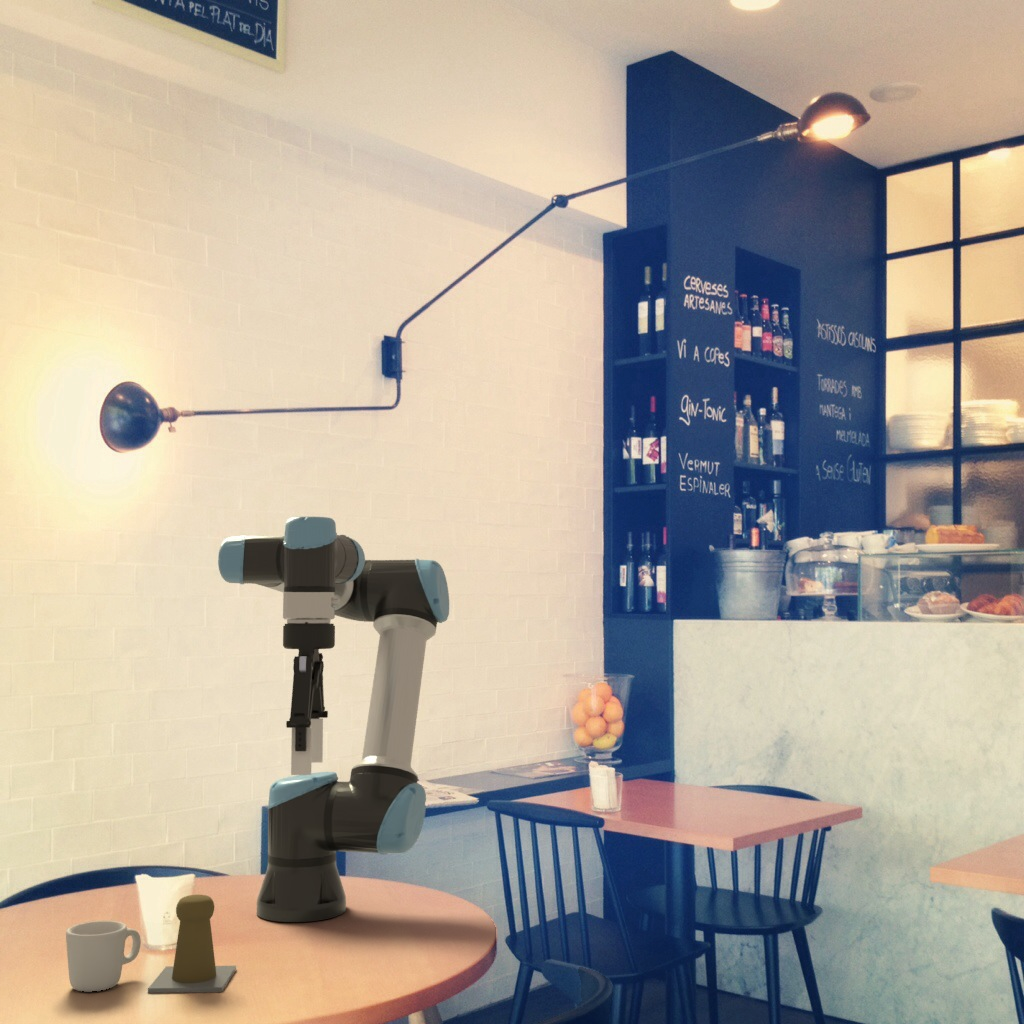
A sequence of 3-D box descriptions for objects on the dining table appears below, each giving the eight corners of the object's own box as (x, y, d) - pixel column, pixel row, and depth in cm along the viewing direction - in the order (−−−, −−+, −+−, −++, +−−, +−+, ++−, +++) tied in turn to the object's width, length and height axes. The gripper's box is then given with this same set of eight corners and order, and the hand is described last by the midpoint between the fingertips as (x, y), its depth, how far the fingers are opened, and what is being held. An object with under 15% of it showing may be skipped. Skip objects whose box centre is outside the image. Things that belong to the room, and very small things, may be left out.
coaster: (165, 970, 173) (166, 966, 173) (236, 969, 173) (236, 965, 173) (147, 992, 163) (147, 988, 163) (222, 991, 163) (222, 987, 163)
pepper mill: (171, 984, 164) (173, 902, 165) (171, 971, 170) (173, 892, 171) (217, 980, 166) (218, 899, 167) (215, 968, 172) (216, 889, 173)
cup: (122, 970, 173) (123, 913, 174) (154, 981, 168) (156, 922, 169) (52, 988, 165) (54, 928, 165) (84, 1000, 160) (86, 938, 160)
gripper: (325, 622, 164) (323, 780, 163) (343, 620, 189) (341, 757, 187) (270, 622, 164) (267, 780, 162) (295, 621, 189) (293, 757, 187)
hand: (307, 768), depth 175 cm, fingers open, 13 cm apart
